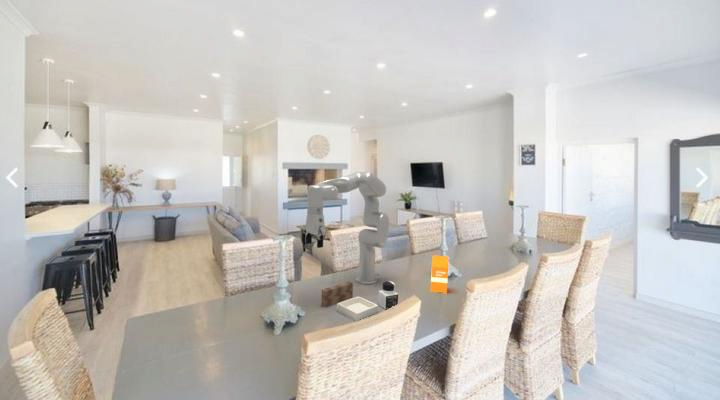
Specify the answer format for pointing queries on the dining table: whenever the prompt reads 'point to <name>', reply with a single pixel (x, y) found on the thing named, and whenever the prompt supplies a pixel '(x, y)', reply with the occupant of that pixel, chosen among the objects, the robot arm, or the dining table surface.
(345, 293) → the backstop wall
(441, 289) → the orange juice
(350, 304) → the white square tray
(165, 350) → the dining table surface
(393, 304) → the medicine bottle
